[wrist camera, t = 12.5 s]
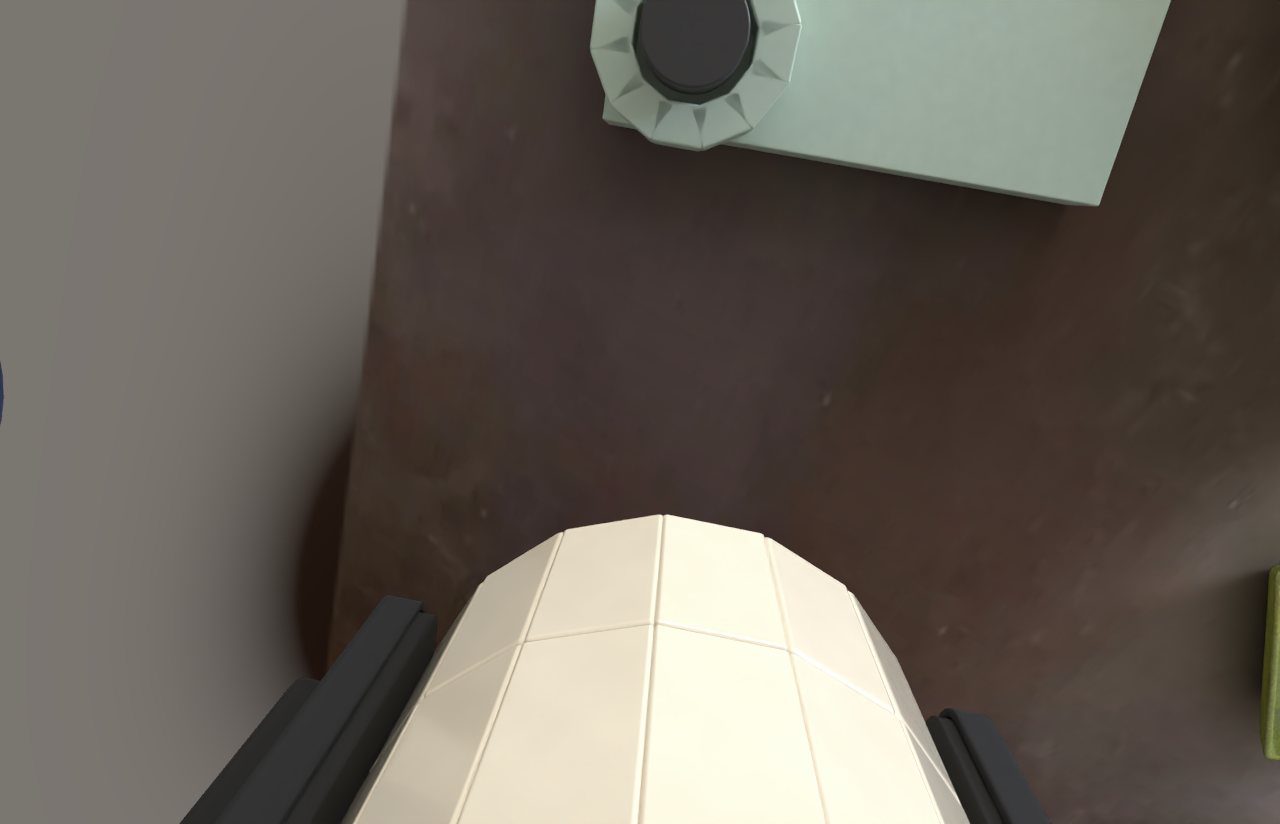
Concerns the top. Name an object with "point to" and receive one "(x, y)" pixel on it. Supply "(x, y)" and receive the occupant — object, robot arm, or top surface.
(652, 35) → the button
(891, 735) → the cup
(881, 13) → the scale
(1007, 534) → the top surface
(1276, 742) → the olive green shallow tray
